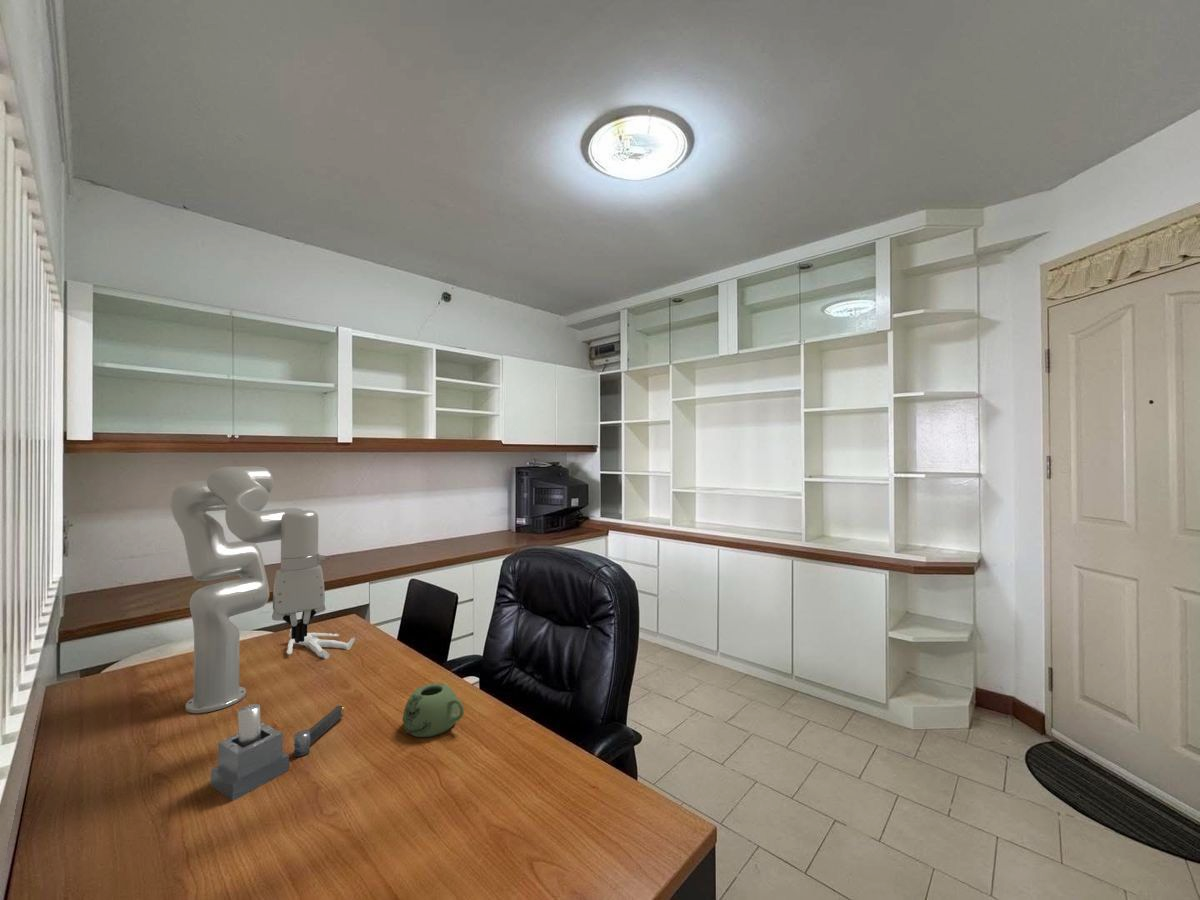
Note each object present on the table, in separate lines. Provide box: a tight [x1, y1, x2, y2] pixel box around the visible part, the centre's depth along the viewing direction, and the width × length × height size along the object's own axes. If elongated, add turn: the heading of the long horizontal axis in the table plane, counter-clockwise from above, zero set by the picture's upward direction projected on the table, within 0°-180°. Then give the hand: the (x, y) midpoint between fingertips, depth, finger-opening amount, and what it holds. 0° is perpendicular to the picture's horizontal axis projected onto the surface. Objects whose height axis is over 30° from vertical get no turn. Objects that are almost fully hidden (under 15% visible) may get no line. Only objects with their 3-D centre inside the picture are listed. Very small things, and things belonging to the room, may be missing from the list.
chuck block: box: [210, 722, 290, 801], centre depth 95 cm, size 9×10×8 cm
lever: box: [293, 704, 347, 758], centre depth 110 cm, size 16×3×4 cm, turn 176°
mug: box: [402, 682, 465, 738], centre depth 113 cm, size 16×13×9 cm
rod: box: [237, 703, 261, 748], centre depth 95 cm, size 4×4×11 cm
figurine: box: [286, 628, 356, 660], centre depth 162 cm, size 6×19×25 cm
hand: (299, 640), depth 110 cm, fingers closed
